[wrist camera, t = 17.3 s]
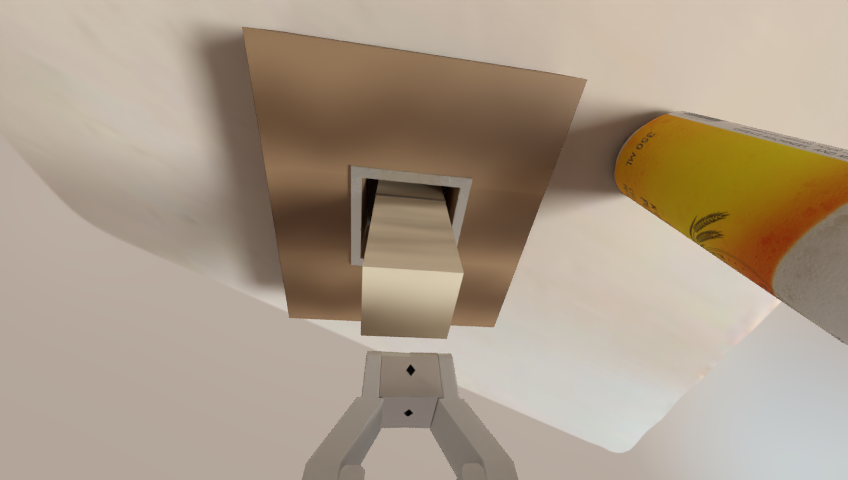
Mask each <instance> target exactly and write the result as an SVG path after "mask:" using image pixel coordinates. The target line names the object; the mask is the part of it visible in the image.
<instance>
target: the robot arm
mask: <svg viewBox="0 0 848 480" xmlns="http://www.w3.org/2000/svg"><path fill="white" fill-rule="evenodd" d="M381 359H382V360H381ZM399 427H409V428H430V430H431V432H432V434H433V435H434V437H435V439H436V441H437V442H438V444H439V446H440V448H441V449H442V451H443V453H444V455H445V457H446V458H447V460H448V462H449V464H450V466H451V467H452V469H453V471H454V472H455V474H456V476H457V480H518V477H517V473H516V470H515V466H514V462H513V461H512V459H511V458H510V457H509V456H508V454H507V453H506V452H505V451H504V450H503V448H502V447H501V446H500V444H499V443H498V442H497V440H496V439H495V438H494V437H493V435H492V434H491V433H490V432H489V430H488V429H487V428H486V427H485V425H484V424H483V423H482V421H481V420H480V419H479V418H478V416H477V415H476V414H475V413H474V411H473V410H472V409H471V408H470V406H469V405H468V404H467V403H466V401H465V400H464V399H459V393H458V387H457V380H456V374H455V368H454V362H453V357H452V355H451V354H437V353H398V352H381V351H368V352H367V355H366V364H365V372H364V380H363V389H362V397H357V398H356V399H355V401H354V402H353V403H352V405H351V406H350V407H349V409H348V410H347V411H346V412H345V414H344V415H343V416H342V418H341V419H340V420H339V422H338V423H337V424H336V425H335V427H334V428H333V429H332V430H331V432H330V433H329V434H328V436H327V437H326V438H325V440H324V441H323V442H322V444H321V445H320V446H319V447H318V449H317V450H316V452H314V454H313V455H312V456H311V458H310V459H309V460H308V462H307V463H306V466H305V470H304V474H303V478H302V480H364V474H365V470H364V469H363V467H362V466H361V465H360V464H361V463H362V461H363V459H364V458H365V456H366V454H367V452H368V451H369V449H370V447H371V446H372V444H373V442H374V440H375V439H376V437H377V435H378V433H379V432H380V430H381V428H399Z"/></svg>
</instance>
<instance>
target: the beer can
mask: <svg viewBox="0 0 848 480" xmlns="http://www.w3.org/2000/svg"><path fill="white" fill-rule="evenodd" d="M615 181H616V184H617V187H618V188H619V190H620V191H621V192H622V193H623V194H625V195H626V196H628V197H629V198H631V199H632V200H633V201H635V202H636V203H638V204H639V205H641V206H642V207H644V208H645V209H647V210H648V211H650V212H651V213H653V214H654V215H656V216H657V217H659V218H660V219H661V220H663V221H664V222H666V223H667V224H669V225H670V226H672V227H673V228H675V229H676V230H678V231H679V232H681V233H682V234H684V235H685V236H686V237H688V238H689V239H691V240H692V241H694V242H695V243H697V244H698V245H700V246H701V247H703V248H704V249H706V250H707V251H709V252H710V253H712V254H713V255H714V256H716V257H717V258H719V259H720V260H722V261H723V262H725V263H726V264H728V265H729V266H731V267H732V268H734V269H735V270H737V271H738V272H740V273H741V274H742V275H744V276H745V277H747V278H748V279H750V280H751V281H753V282H754V283H756V284H757V285H759V286H760V287H762V288H763V289H765V290H766V291H767V292H769V293H770V294H772V295H773V296H775V297H776V298H778V299H779V300H781V301H782V302H784V303H785V304H787V305H788V306H790V307H791V308H793V309H794V310H795V311H797V312H798V313H800V314H801V315H803V316H804V317H806V318H807V319H809V320H810V321H812V322H813V323H815V324H816V325H818V326H819V327H821V328H822V329H824V330H825V331H826V332H828V333H829V334H831V335H832V336H834V337H835V338H837V339H838V340H840V341H841V342H843V343H845V344H847V345H848V150H846V149H842V148H837V147H833V146H829V145H825V144H821V143H816V142H812V141H808V140H804V139H799V138H795V137H791V136H787V135H783V134H778V133H774V132H770V131H766V130H762V129H757V128H753V127H749V126H745V125H741V124H736V123H732V122H728V121H724V120H719V119H715V118H711V117H707V116H703V115H698V114H694V113H690V112H683V111H681V112H672V113H668V114H664V115H662V116H659V117H657V118H655V119H653V120H652V121H650V122H648V123H647V124H645V125H643V126H642V127H640V128H639V129H638V130H636V131H635V132H634V133H633V134H632V135H631V136H630V137H629V138H628V139H627V140H626V142H625V143H624V144H623V146H622V148H621V149H620V151H619V154H618V156H617V160H616V166H615Z"/></svg>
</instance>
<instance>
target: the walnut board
mask: <svg viewBox="0 0 848 480" xmlns="http://www.w3.org/2000/svg"><path fill="white" fill-rule="evenodd" d="M242 29H243V35H244V41H245V47H246V53H247V59H248V66H249V72H250V78H251V84H252V90H253V97H254V103H255V109H256V115H257V121H258V127H259V134H260V140H261V146H262V152H263V158H264V164H265V171H266V177H267V183H268V189H269V195H270V201H271V208H272V214H273V220H274V226H275V232H276V238H277V245H278V251H279V257H280V263H281V269H282V276H283V282H284V288H285V294H286V300H287V306H288V313H289V318H303V319H325V320H347V321H361V309H362V269H363V261H364V256H365V251H366V245H367V240H368V235H369V229H370V226H367V211H368V179H379V180H389V181H399V182H409V183H419V184H428V185H438V186H447V187H446V192H445V198H444V200H445V201H446V207H447V211H448V215H449V219H450V222H451V226H452V230H453V234H454V238H455V242H456V245H457V249H458V253H459V257H460V261H461V264H462V268H463V272H464V274H463V278H462V282H461V286H460V290H459V294H458V298H457V301H456V305H455V309H454V313H453V317H452V321H451V324H450V325H457V326H479V327H494V326H495V323H496V320H497V318H498V315H499V312H500V310H501V307H502V304H503V302H504V299H505V296H506V294H507V291H508V289H509V286H510V283H511V281H512V278H513V275H514V273H515V270H516V267H517V265H518V262H519V259H520V257H521V254H522V251H523V249H524V246H525V243H526V241H527V238H528V235H529V233H530V230H531V228H532V225H533V222H534V220H535V217H536V214H537V212H538V209H539V206H540V204H541V201H542V198H543V196H544V193H545V190H546V188H547V185H548V182H549V180H550V177H551V175H552V172H553V169H554V167H555V164H556V161H557V159H558V156H559V153H560V151H561V148H562V145H563V143H564V140H565V137H566V135H567V132H568V129H569V127H570V124H571V121H572V119H573V116H574V114H575V111H576V108H577V106H578V103H579V100H580V98H581V95H582V92H583V90H584V87H585V84H586V82H587V80H586V79H581V78H576V77H571V76H565V75H560V74H555V73H549V72H542V71H536V70H529V69H523V68H516V67H510V66H503V65H497V64H490V63H484V62H477V61H471V60H464V59H458V58H451V57H445V56H438V55H431V54H425V53H418V52H412V51H405V50H399V49H392V48H386V47H379V46H373V45H366V44H360V43H353V42H347V41H340V40H334V39H327V38H320V37H314V36H307V35H301V34H294V33H288V32H281V31H274V30H265V29H256V28H246V27H242Z"/></svg>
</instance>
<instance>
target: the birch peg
mask: <svg viewBox="0 0 848 480" xmlns="http://www.w3.org/2000/svg"><path fill="white" fill-rule="evenodd" d="M463 274H464V272H463V268H462V264H461V261H460V257H459V253H458V249H457V245H456V242H455V238H454V234H453V230H452V226H451V222H450V219H449V215H448V211H447V207H446V201H445V200H444V196H443V192H442V188H441V186H438V185H428V184H419V183H409V182H399V181H389V180H379V181H378V186H377V192H376V194H375V202H374V208H373V213H372V218H371V224H370V229H369V235H368V240H367V245H366V251H365V256H364V261H363V269H362V309H361V335H365V336H390V337H415V338H440V339H447V336H448V332H449V328H450V324H451V321H452V317H453V313H454V309H455V305H456V301H457V298H458V294H459V290H460V286H461V282H462V278H463Z"/></svg>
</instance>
